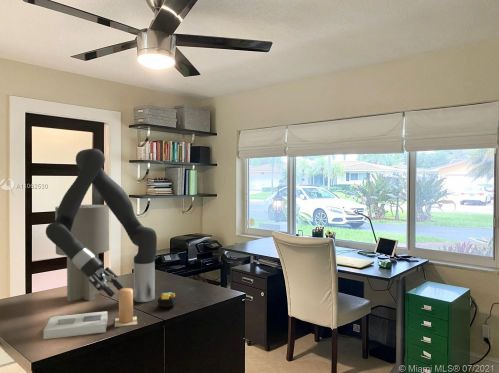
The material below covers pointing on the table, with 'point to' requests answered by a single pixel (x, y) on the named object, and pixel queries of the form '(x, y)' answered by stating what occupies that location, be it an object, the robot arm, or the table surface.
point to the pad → (125, 323)
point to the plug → (125, 305)
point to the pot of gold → (167, 299)
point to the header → (76, 325)
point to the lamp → (95, 239)
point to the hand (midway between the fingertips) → (117, 291)
